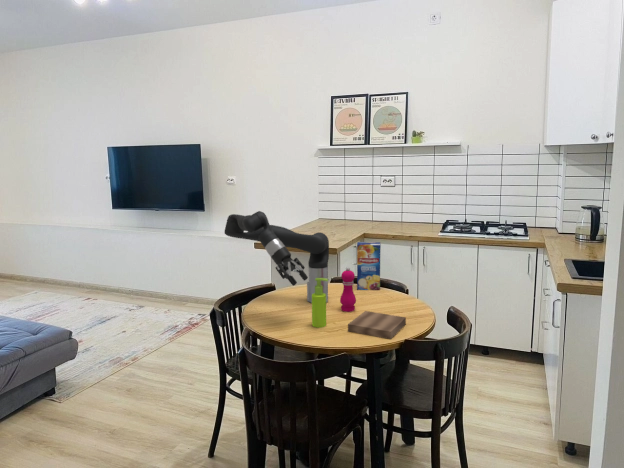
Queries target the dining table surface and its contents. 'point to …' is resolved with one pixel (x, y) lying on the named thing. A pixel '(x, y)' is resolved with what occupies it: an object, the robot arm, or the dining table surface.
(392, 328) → the walnut board
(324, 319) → the soap dispenser
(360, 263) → the juice carton
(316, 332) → the dining table surface
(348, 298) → the pepper mill
